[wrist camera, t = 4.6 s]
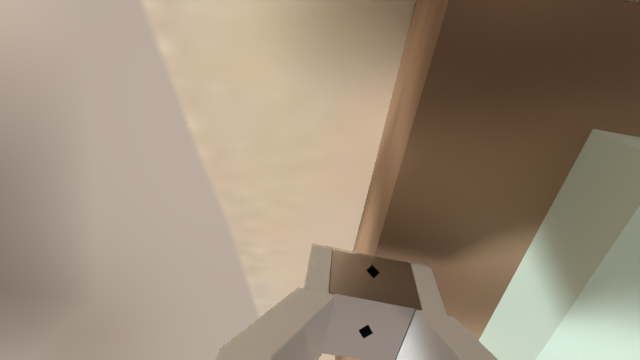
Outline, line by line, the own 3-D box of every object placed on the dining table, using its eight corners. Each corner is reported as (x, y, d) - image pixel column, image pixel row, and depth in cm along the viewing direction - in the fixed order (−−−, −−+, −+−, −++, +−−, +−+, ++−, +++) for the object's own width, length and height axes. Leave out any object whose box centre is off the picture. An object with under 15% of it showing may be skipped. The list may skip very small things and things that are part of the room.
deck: (418, -9, 10) (457, -28, 6) (941, 82, 10) (1278, 114, 6) (337, 315, 16) (333, 398, 12) (660, 374, 16) (751, 476, 12)
